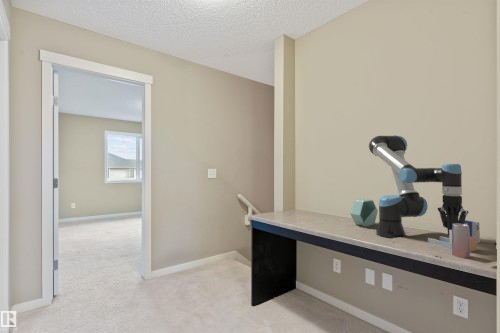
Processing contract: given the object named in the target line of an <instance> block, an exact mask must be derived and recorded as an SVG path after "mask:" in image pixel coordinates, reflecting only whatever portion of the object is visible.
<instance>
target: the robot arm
mask: <svg viewBox="0 0 500 333" xmlns="http://www.w3.org/2000/svg"><path fill="white" fill-rule="evenodd" d="M407 149H408V142H407V140H406V138H405V137H403V136H402V135H401V136H400V135H378V136H375V137H373V138H371V140H370V141H369V144H368V150H369V151H370V153H371V154H372V155H373V156H374V157H379V158H380V159H381V160H382V161H383V162H384V163H386V165H388V166H389V167H390V168H391V171H392V174H393V177H394V181H395V184H396V187H397V192H398V194H390V195H382V196H380V197H379V200H378V207H379V209H378V213H379V215H378V216H379V221H378V223H377V228H376V232H375V234H376V235H377V236H379V237H383V238H387V239H389V238H390V239H396V238H405V237H406V232H405V229H404V226H403V223H402V222H403V221H402V218H410V217H412V218H417V217H422V216H424V215H425V214H426V213H427V211H428V206H429V205H428V201H427V200H426V199H425V198H424V197H422V196H420V193H419V192H418V191H417V190H415V187H414V183H442V186H441V187H442V189H441V190H442V194H443V195H442V197H441V198H442V205H441V206H440V207H437V211H438V212H439V215H440V219H441V222H442V226H443V228H446V230H447V236H448V238H450V243H452V224H454V223H458V224H464V222H465V220H466V217H467V216H468V214H469V210H465V209H464V207H463V196H462V195H463V190H462V188H463V184H462V174H463V172H462V166H461V164H460V163H443V164H442V165H441V167H423V168H422V167H420V168H418V167H415V166H413V165H412V164H410V163H409V162H408V161H407V160H405V154H406V151H407Z"/></svg>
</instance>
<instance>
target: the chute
mask: <svg viewBox="0 0 500 333" xmlns="http://www.w3.org/2000/svg"><path fill="white" fill-rule="evenodd" d="M427 242H428V243H430V244H432V245H436V246H439V247H440V246H441V247H443V248H446V249H447V248H448V249H450V250H452V243H450V238H449V237H445V236H443V235H441V236H439V240H438V239H436V238H431V237H427Z"/></svg>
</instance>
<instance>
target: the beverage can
mask: <svg viewBox="0 0 500 333" xmlns="http://www.w3.org/2000/svg"><path fill="white" fill-rule="evenodd" d="M451 250H452V253H451V255H452V256H454V257H457V258H460V259H471V252H470V228H469V225H466V224H458V223H454V224H452V249H451Z"/></svg>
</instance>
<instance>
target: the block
mask: <svg viewBox="0 0 500 333" xmlns="http://www.w3.org/2000/svg"><path fill="white" fill-rule="evenodd" d="M477 244H478V243H477V238H476V237H471V236H470V253H472V252H476V251H477V250H478V248H477V246H478V245H477Z"/></svg>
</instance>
